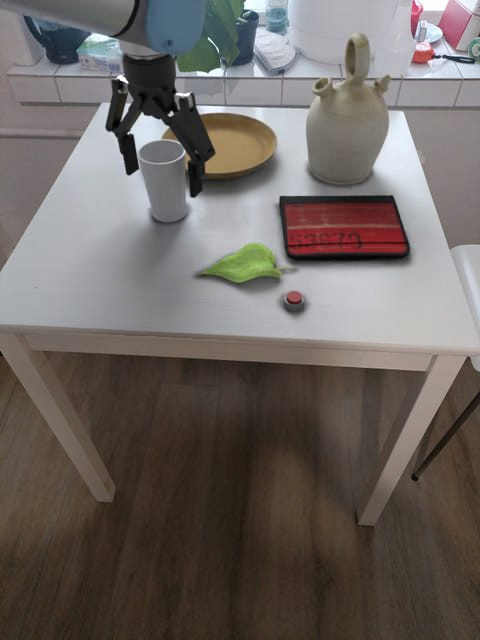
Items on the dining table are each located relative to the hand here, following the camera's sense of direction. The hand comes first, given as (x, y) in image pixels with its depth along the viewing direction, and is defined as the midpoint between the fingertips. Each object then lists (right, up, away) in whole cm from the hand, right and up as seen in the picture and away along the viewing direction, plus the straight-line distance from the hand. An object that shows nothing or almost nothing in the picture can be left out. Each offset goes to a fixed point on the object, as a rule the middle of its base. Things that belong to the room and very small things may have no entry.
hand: (163, 182), depth 85 cm
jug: (+33, +7, +14) cm, 37 cm away
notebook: (+31, -8, +1) cm, 32 cm away
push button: (+21, -21, -10) cm, 32 cm away
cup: (0, -4, +5) cm, 7 cm away
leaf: (+14, -15, -5) cm, 22 cm away
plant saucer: (+9, +11, +18) cm, 23 cm away
